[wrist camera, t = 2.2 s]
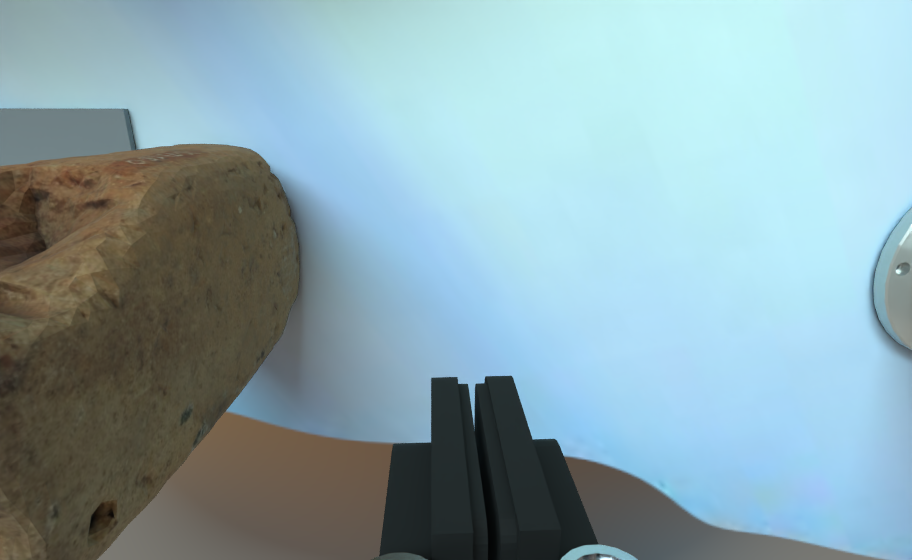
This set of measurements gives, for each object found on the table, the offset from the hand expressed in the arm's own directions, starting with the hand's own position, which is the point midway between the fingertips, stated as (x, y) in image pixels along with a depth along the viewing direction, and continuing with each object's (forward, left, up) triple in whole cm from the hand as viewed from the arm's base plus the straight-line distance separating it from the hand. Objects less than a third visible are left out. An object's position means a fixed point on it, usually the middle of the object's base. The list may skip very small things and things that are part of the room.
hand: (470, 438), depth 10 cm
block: (+12, 0, -20) cm, 23 cm away
